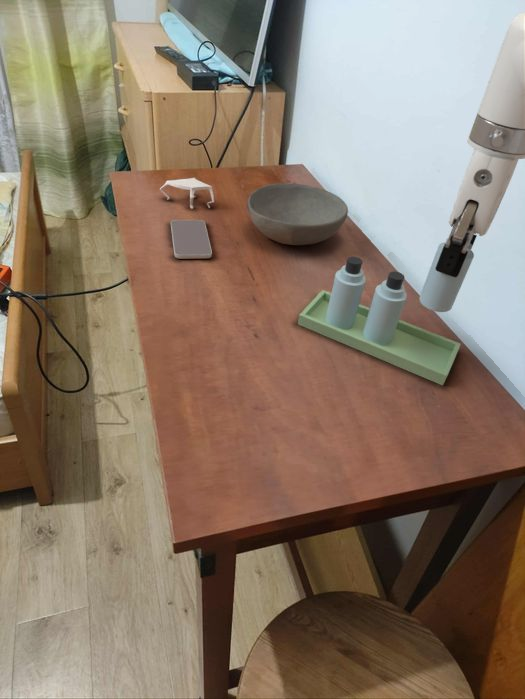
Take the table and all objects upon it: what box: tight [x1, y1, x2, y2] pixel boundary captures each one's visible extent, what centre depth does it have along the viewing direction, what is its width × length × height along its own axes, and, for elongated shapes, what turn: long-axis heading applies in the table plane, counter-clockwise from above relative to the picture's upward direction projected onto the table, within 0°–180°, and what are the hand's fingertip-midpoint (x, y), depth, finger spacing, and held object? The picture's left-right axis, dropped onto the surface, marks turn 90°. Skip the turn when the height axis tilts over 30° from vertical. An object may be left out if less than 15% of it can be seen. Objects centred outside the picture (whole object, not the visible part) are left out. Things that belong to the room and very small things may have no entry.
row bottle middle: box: [363, 270, 408, 345], centre depth 83 cm, size 5×5×12 cm
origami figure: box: [159, 177, 215, 210], centre depth 117 cm, size 12×8×5 cm
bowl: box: [247, 182, 349, 246], centre depth 109 cm, size 21×21×8 cm
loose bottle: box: [418, 233, 475, 313], centre depth 74 cm, size 5×5×12 cm
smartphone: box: [170, 219, 213, 260], centre depth 105 cm, size 7×1×15 cm
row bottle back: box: [326, 256, 367, 329], centre depth 85 cm, size 5×5×12 cm
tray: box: [297, 289, 462, 387], centre depth 86 cm, size 26×10×2 cm, turn 60°
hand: (451, 263), depth 73 cm, fingers closed on loose bottle, 5 cm apart
